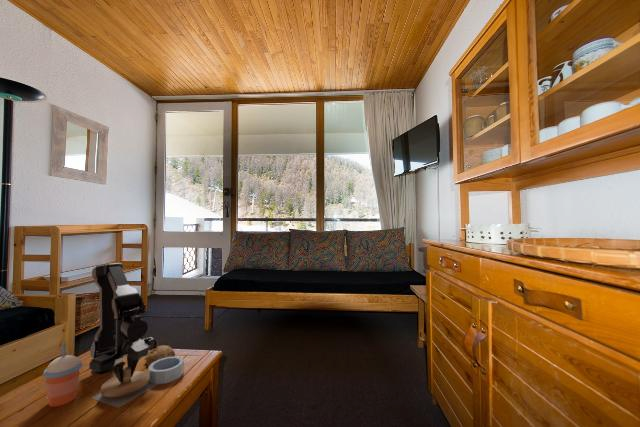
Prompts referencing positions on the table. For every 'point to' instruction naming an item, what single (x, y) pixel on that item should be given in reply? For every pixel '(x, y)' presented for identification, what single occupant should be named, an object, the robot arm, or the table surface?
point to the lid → (125, 383)
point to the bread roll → (159, 354)
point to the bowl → (166, 370)
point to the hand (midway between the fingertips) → (125, 379)
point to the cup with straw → (62, 378)
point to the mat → (123, 399)
